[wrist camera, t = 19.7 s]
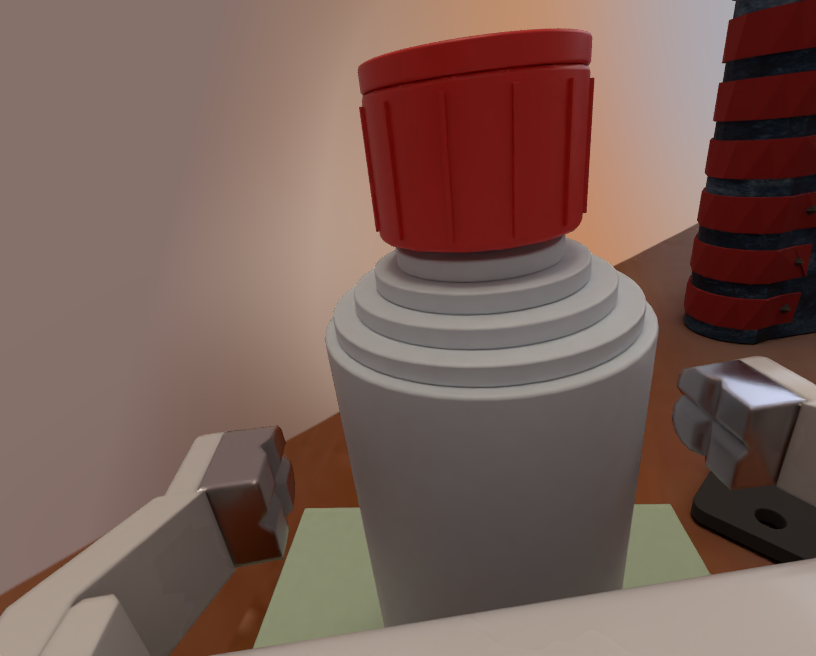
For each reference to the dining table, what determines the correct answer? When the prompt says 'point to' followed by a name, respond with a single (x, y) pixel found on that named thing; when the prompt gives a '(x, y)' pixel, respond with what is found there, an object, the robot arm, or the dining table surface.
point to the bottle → (493, 423)
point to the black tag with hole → (758, 518)
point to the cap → (479, 140)
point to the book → (760, 182)
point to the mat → (356, 590)
